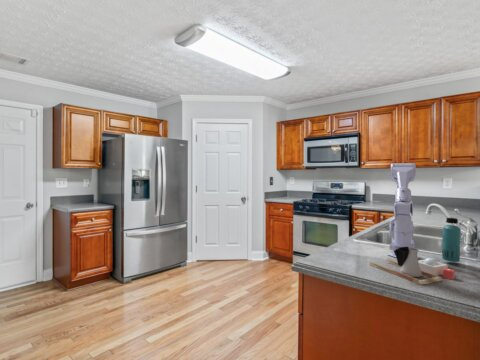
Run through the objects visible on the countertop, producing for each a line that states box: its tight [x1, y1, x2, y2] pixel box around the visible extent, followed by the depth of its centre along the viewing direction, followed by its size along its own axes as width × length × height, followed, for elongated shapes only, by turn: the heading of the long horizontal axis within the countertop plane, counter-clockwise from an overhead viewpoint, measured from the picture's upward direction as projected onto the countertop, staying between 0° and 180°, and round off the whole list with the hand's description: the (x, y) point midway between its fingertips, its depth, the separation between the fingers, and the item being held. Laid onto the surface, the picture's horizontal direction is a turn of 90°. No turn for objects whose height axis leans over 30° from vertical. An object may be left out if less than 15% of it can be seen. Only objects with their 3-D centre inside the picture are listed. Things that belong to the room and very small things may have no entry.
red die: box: [442, 267, 456, 281], centre depth 108 cm, size 3×3×3 cm
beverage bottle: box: [441, 217, 461, 263], centre depth 125 cm, size 6×7×20 cm
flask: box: [398, 247, 423, 278], centre depth 111 cm, size 7×7×10 cm
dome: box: [423, 257, 438, 266], centre depth 114 cm, size 5×5×5 cm
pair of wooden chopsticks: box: [369, 258, 443, 285], centre depth 114 cm, size 11×23×1 cm, turn 22°
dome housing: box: [418, 259, 449, 276], centre depth 114 cm, size 8×8×4 cm
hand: (401, 265), depth 114 cm, fingers closed, pressing on flask
